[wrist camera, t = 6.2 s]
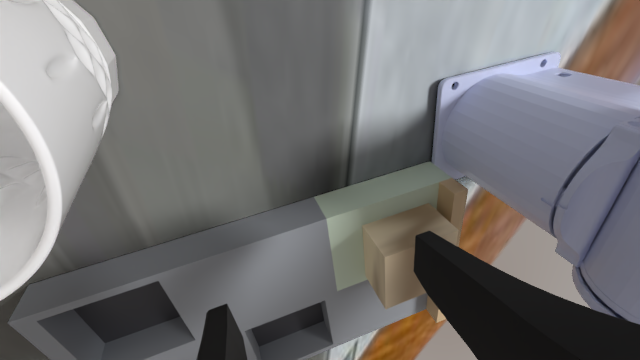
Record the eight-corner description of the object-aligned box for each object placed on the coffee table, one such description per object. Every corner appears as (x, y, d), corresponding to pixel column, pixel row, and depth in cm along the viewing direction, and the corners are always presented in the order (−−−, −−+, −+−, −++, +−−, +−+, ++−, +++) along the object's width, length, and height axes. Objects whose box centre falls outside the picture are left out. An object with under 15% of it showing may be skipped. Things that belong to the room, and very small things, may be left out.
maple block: (428, 202, 22) (458, 230, 19) (424, 253, 24) (450, 283, 22) (361, 225, 20) (384, 257, 18) (365, 276, 23) (385, 309, 21)
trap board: (429, 161, 23) (468, 189, 20) (419, 284, 31) (446, 318, 28) (28, 284, 18) (-9, 350, 14) (138, 395, 25) (130, 455, 22)
